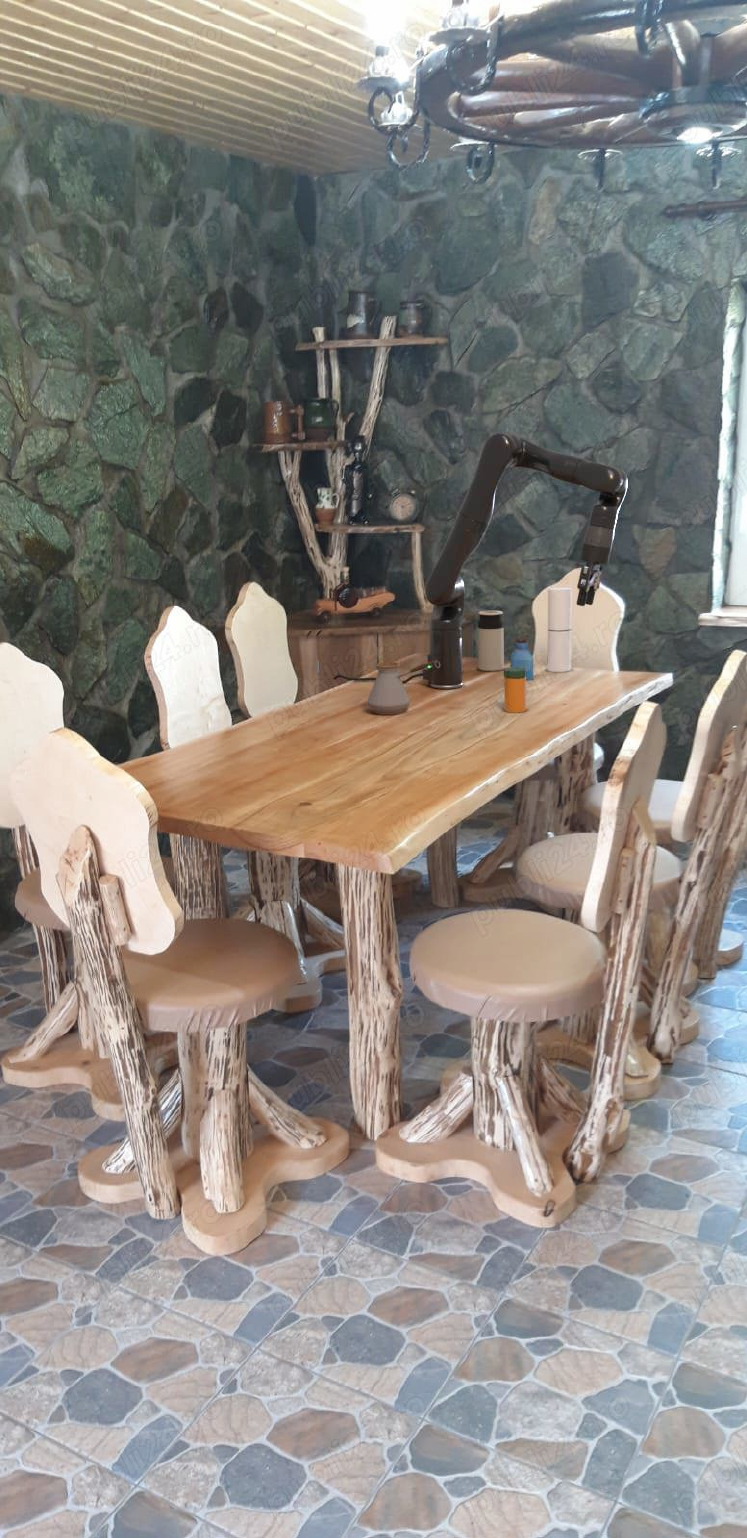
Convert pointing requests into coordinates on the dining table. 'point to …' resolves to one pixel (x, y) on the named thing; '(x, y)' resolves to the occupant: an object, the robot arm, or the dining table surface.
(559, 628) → the cylindrical container
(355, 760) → the dining table surface
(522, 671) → the honey lid
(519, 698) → the honey jar
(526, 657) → the perfume bottle
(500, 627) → the travel mug
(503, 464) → the robot arm
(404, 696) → the coffee pot
